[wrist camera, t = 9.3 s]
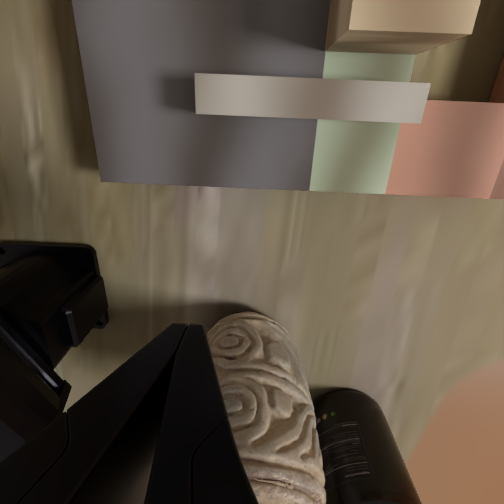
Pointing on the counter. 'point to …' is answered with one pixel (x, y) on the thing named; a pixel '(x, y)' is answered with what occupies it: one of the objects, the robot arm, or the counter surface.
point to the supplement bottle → (360, 452)
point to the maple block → (397, 25)
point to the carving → (269, 408)
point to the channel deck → (272, 104)
